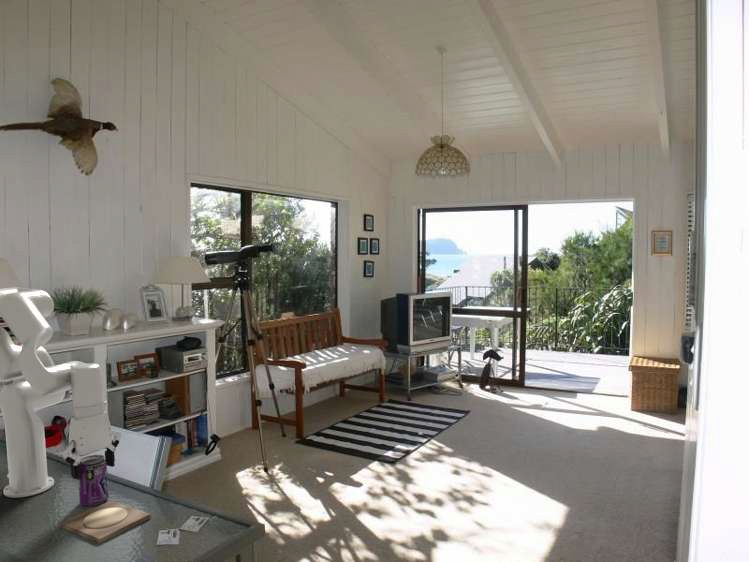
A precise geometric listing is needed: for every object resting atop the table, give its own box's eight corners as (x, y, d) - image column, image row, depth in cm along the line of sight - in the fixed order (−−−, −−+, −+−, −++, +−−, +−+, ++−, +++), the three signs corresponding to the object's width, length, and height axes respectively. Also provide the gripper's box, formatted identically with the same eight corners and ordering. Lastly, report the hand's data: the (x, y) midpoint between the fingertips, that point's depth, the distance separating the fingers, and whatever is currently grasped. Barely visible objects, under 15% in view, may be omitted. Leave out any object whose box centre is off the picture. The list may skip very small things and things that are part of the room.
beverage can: (97, 508, 155) (94, 464, 154) (74, 506, 157) (71, 463, 156) (114, 496, 162) (111, 454, 161) (91, 495, 164) (89, 453, 163)
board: (60, 527, 145) (60, 521, 145) (111, 504, 157) (111, 499, 157) (100, 543, 137) (99, 537, 137) (150, 518, 149) (150, 512, 149)
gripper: (109, 400, 167) (114, 459, 168) (49, 417, 152) (54, 481, 153) (126, 403, 163) (130, 463, 164) (66, 421, 148) (71, 486, 149)
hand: (94, 472), depth 159 cm, fingers open, 9 cm apart
